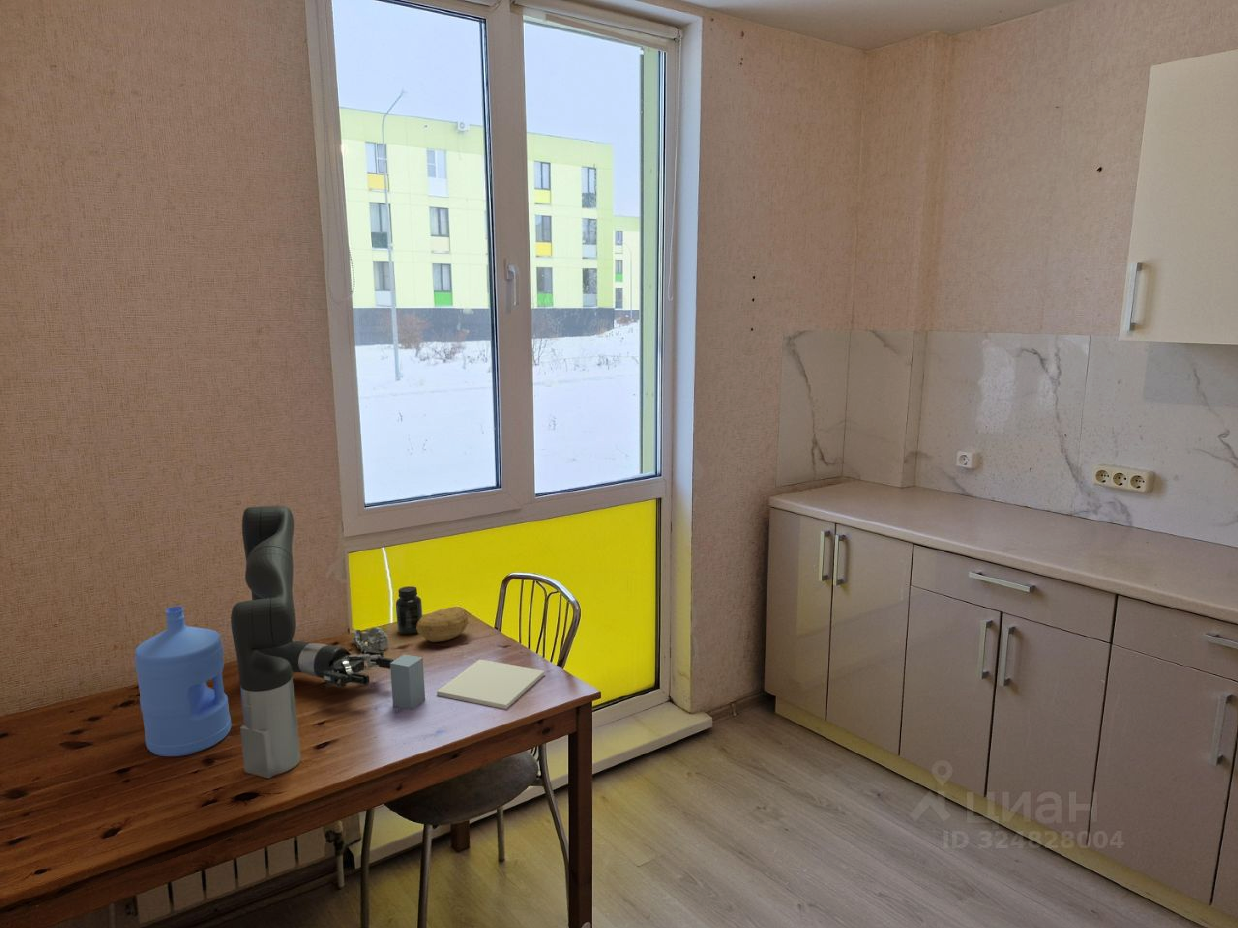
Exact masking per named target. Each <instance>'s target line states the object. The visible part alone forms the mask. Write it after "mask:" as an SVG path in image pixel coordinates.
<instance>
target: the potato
mask: <svg viewBox="0 0 1238 928" xmlns="http://www.w3.org/2000/svg"><path fill="white" fill-rule="evenodd" d="M468 619H469V618H468V614H467V613H466V610H465V609H464V608H463V607H460V606H453V607H448V608H440V609H437V610H435V611H432V612H430V613H427V614H425V615H424V614H423V615H422V617H421V618H420V620H419V621H418V623H417V625H416V629H417V632H418V633H417V634H418V635H420V636H421V637H423V638H424V639H425V640H427V641H428V642H429V641H430V642H433V643H437V642H446V641H449V640H451V639H454V638H456V637H458V636H460V635H462V634H463V633H464V631H465V630H466V628H467V625H468V623H469V620H468Z"/></svg>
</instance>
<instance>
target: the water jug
mask: <svg viewBox="0 0 1238 928" xmlns="http://www.w3.org/2000/svg"><path fill="white" fill-rule="evenodd" d="M164 613H165V614H166V618H165V620H166V624H167V627H166V628H167V629H165V630H163V631H161V632H160V633H158V634H156V635H154V636H152V637H150V638H148V639H146V640H145V641H143V642H141V643H140V644H139V645H138V646H137V647H136V649H135V651H134V665H135V671H136V674H137V681H138V689H139V695H140V697H139V702H140V709H141V713H142V719H143V725H144V727H143V728H144V733H145V735H144V740H145V745H146V748H147V750H149V752H151V753H152V754H154V755H156V756H161V757H181V756H187V755H191V754H195V753H199V752H202V751H204V750H206V749H209V748H211V747H213V746H215V745H216V744H218V743H220V742H221V741H222V740H224V739H225V738H227V736H228V735H229V733H230V732H231V729H232V718H231V717H232V716H231V715H230V706H229V696H228V694H226V693H225V690H224V689H225V688H224V681H223V673H222V672H223V670H224V667H225V663H224V648H223V643H222V638H221V635H220V633H219V632H218V631H216V630H214V629H210V628H203V627H195V626H190V625H189V626H187V625H186V624H185V623H186V622H185V615H184V607H183V606H172V607H168V608H167V609H165V611H164ZM210 680H212V684H213V688H210V687H209V686H208V685H207V682H209V681H210Z"/></svg>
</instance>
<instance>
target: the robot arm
mask: <svg viewBox="0 0 1238 928" xmlns="http://www.w3.org/2000/svg"><path fill="white" fill-rule="evenodd" d="M294 533H295V518H294V514H293V512H292V510H291V509H290V508H289V506H288V507H287V506H284V505H268V506H266V505H265V506H263V505H262V506H248V507H246V508H245V509H244V511H243V513H242V518H241V536H242V543H243V549H244V555H245V556H244V557H245V561H246V562H245V563H246V564H245V574H244V578H245V582H246V585H247V587H248V588H249V589H250V591H251V600H246V601H239V602H237V603H236V604H235V605H233V606H232V610H231V615H230V624H231V633H232V639H233V643H234V644H233V645H234V648H235V654H236V655H235V656H236V660H237V669H238V680H239V689H240V690H239V692H240V700H241V706H242V707H241V709H242V717H243V724H241V725H240V727H239V731H240V740H241V749H242V750H241V752H242V758H243V766H244V767H243V768H244V773H247V774H251V775H253V776H258V777H261V778H265V779H270V778H272V777H274V776H278V775H280V774H283V773H286V772H288V771H289V770H292V769H293V768H295V767H296V766H297V765H298V764H299V763H300V761H301V751H300V739H299V730H298V729H299V728H298V718H297V716H298V715H297V709H296V698H295V697H296V695H295V685H294V679H293V678H294V677H293V672H297V673H302V674H306V675H308V676H312V677H316V678H319V679H323V680H324V683H325V684H328V685H332V686H337V687H340V688H345V687H346V686H347V684H349V685H352V684H358V685H364V686H367V685H368V684H370V675H369V674H366V673H362V672H361V671H368V670H369V671H370V670H371V669H372V668H376V667H379V668H383V669H388V670H389V669H390V663H391V662H393V661H394V659H392V658H388V657H384V656H385V652H384V650H382V651H380V650H370V649H362V650H361V649H360V653H359V654H357V653H356V654H355V653H354V654H351V653H350V651H348V650H347V649H346V647H342V646H336V645H332V644H331V645H330V644H325V643H316V642H315V643H313V642H308V641H304V640H293V639H294V638H295V634H296V628H297V627H296V626H297V624H296V622H297V621H296V620H297V618H296V611H295V603H294V601H295V600H294V594H293V584H294V556H293V542H294ZM365 662H366V665H365Z"/></svg>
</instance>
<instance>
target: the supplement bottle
mask: <svg viewBox="0 0 1238 928" xmlns="http://www.w3.org/2000/svg"><path fill="white" fill-rule="evenodd" d="M397 591H398V595H397V596H398V598H397V600H396V601H395V611H396V612H395V613H396V615H395V616H396V624H397V625H396V626H397V632H398V633H399V634H400V635H403V636H409V635H410V636H411V635H416V634H418V632H417V629H416V625H417V623H418V621H419V620H420V618H421V617H423V607H422V598H420V597H419V596H418V591H417V587H416V586H413V585H412V586H411V585H410V586H403V587H401V588H398V590H397Z"/></svg>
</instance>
